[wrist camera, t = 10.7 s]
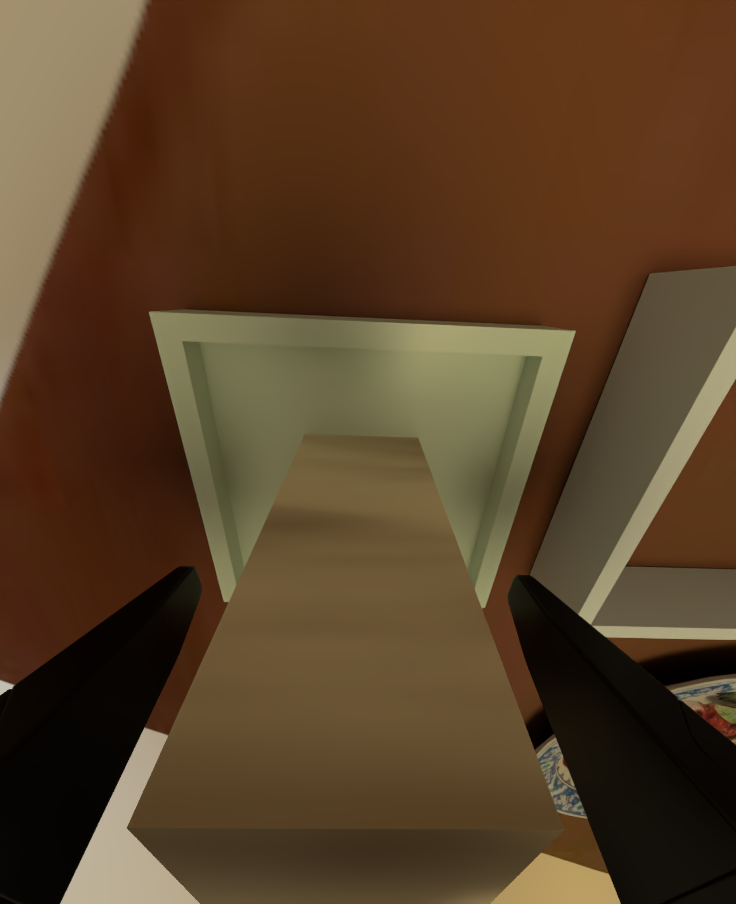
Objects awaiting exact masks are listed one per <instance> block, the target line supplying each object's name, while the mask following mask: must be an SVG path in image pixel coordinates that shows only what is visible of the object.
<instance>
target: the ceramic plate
mask: <svg viewBox="0 0 736 904" xmlns="http://www.w3.org/2000/svg"><path fill="white" fill-rule="evenodd" d="M665 687H666V688H667V689H669V690H670V691H671V692H672V693H673V694H675V695H676V696H677V698H678V700H682V701H683V702H684V703H686V704H687V705H688V706H689V707H690V708H692V709H693V710H694V711H695V712H696V713H698V714H699V715H700V716H701V717H702V718H704V719H705V720H706V721H707V722H709V723H710V724H711V725H712V726H714V727H715V728H716V729H717V730H718V731H720V732H721V733H722V734H723V735H725V736H726V737H727V738H728V739H730V740H731V741H732V742H733V743H734V744H736V674H728V675H720V676H711V677H705V678H700V679H696V680H691V681H686V682H682V683H676V684H671V685H665ZM535 753H536V755H537V758H538V761H539V763H540V766H541V769H542V772H543V774H544V777H545V780H546V782H547V785H548V788H549V790H550V793H551V796H552V798H553V801H554V804H555V806H556V809H557V812H559V813H562V814H566V815H570V816H576V817H581V818H587V816H586V814H585V811H584V809H583V806H582V803H581V801H580V798H579V796H578V793H577V791H576V788H575V786H574V783H573V781H572V778H571V775H570V773H569V770H568V768H567V765H566V763H565V760H564V758H563V755H562V753H561V750H560V748H559V745H558V742H557V740H556V737H555V735H554V734H553V735H552V736H551V737H549V738H548V739H547V740H546V741H545V742H543V743H542V744H541V745H540V746H539V747H537V748H536V749H535Z"/></svg>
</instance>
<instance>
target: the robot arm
mask: <svg viewBox="0 0 736 904" xmlns="http://www.w3.org/2000/svg"><path fill="white" fill-rule="evenodd" d="M201 593H202V585H201V581H200V578H199V575H198V571H197V569H196V568H195V567H193V566H181V567H178V568H176V569H175V570H173V571H172V572H171V573H169V574H168V575H166V576H165V577H164V578H162V579H161V580H160V581H158V582H157V583H155V584H154V585H153V586H151V587H150V588H148V589H147V590H146V591H144V592H143V593H142V594H140V595H139V596H137V597H136V598H135V599H133V600H132V601H130V602H129V603H128V604H126V605H125V606H124V607H122V608H121V609H119V610H118V611H117V612H115V613H114V614H113V615H111V616H110V617H108V618H107V619H106V620H104V621H103V622H101V623H100V624H99V625H97V626H96V627H95V628H93V629H92V630H90V631H89V632H88V633H86V634H85V635H83V636H82V637H81V638H79V639H78V640H77V641H75V642H74V643H72V644H71V645H70V646H68V647H67V648H65V649H64V650H63V651H61V652H60V653H59V654H57V655H56V656H54V657H53V658H52V659H50V660H49V661H47V662H46V663H45V664H43V665H42V666H41V667H39V668H38V669H36V670H35V671H34V672H32V673H31V674H29V675H28V676H27V677H25V678H24V679H23V680H21V681H20V682H18V683H17V684H16V685H14V686H13V688H12V689H9V690H7V691H6V692H4V693H3V694H2V695H0V904H60V903H61V900H62V899H63V896H64V894H65V892H66V890H67V888H68V886H69V884H70V882H71V880H72V878H73V876H74V873H75V871H76V869H77V867H78V865H79V863H80V861H81V859H82V857H83V855H84V853H85V850H86V848H87V846H88V844H89V842H90V840H91V838H92V836H93V834H94V832H95V829H96V827H97V825H98V823H99V821H100V819H101V817H102V815H103V813H104V811H105V809H106V806H107V804H108V802H109V800H110V798H111V796H112V794H113V792H114V789H115V788H116V786H117V784H118V781H119V779H120V777H121V775H122V773H123V771H124V769H125V767H126V765H127V762H128V760H129V758H130V756H131V754H132V752H133V750H134V748H135V746H136V744H137V742H138V740H139V737H140V735H141V733H142V731H143V729H144V727H145V725H146V723H147V721H148V719H149V717H150V714H151V712H152V710H153V708H154V706H155V704H156V702H157V700H158V698H159V696H160V694H161V691H162V689H163V687H164V685H165V683H166V681H167V679H168V677H169V675H170V673H171V671H172V668H173V666H174V664H175V662H176V660H177V658H178V655H179V653H180V651H181V648H182V646H183V643H184V640H185V638H186V635H187V632H188V629H189V627H190V624H191V621H192V619H193V616H194V613H195V610H196V608H197V605H198V602H199V600H200V597H201ZM508 602H509V606H510V610H511V613H512V617H513V620H514V623H515V627H516V630H517V634H518V637H519V641H520V644H521V648H522V651H523V654H524V657H525V661H526V663H527V666H528V669H529V671H530V674H531V676H532V679H533V681H534V684H535V687H536V689H537V692H538V694H539V697H540V699H541V702H542V704H543V707H544V709H545V712H546V714H547V717H548V720H549V722H550V725H551V727H552V730H553V732H554V735H555V737H556V740H557V742H558V745H559V748H560V750H561V753H562V755H563V758H564V760H565V763H566V765H567V768H568V770H569V773H570V775H571V778H572V781H573V783H574V786H575V788H576V791H577V793H578V796H579V798H580V801H581V803H582V806H583V809H584V811H585V814H586V816H587V819H588V821H589V824H590V826H591V829H592V831H593V834H594V836H595V839H596V842H597V844H598V847H599V849H600V852H601V854H602V857H603V859H604V862H605V864H606V867H607V870H608V872H609V875H610V877H611V880H612V882H613V885H614V887H615V890H616V892H617V895H618V898H619V900H620V903H621V904H736V744H734V743H733V742H732V741H731V740H730V739H728V738H727V737H726V736H725V735H723V734H722V733H721V732H720V731H718V730H717V729H716V728H715V727H714V726H712V725H711V724H710V723H709V722H707V721H706V720H705V719H704V718H702V717H701V716H700V715H699V714H698V713H696V712H695V711H694V710H693V709H692V708H690V707H689V706H688V705H687V704H686V703H684V702H683V701H682V700H678V698H677V696H676V695H675V694H673V693H672V692H671V691H670V690H669V689H667V688H666V687H665V686H664V685H663V684H661V683H660V682H659V681H658V680H657V679H655V678H654V677H653V676H652V675H651V674H649V673H648V672H647V671H646V670H645V669H643V668H642V667H641V666H640V665H639V664H637V663H636V662H635V661H634V660H633V659H631V658H630V657H629V656H628V655H626V654H625V653H624V652H623V651H622V650H620V649H619V648H618V647H617V646H616V645H614V644H613V643H612V642H611V641H610V640H608V639H607V638H606V637H605V636H604V635H602V634H601V633H600V632H599V631H598V630H596V629H595V628H594V627H593V626H592V625H590V624H589V623H588V622H587V621H586V620H584V619H583V618H582V617H581V616H580V615H578V614H577V613H576V612H575V611H574V610H572V609H571V608H570V607H569V606H568V605H566V604H565V603H564V602H563V601H562V600H560V599H559V598H558V597H557V596H556V595H554V594H553V593H552V592H551V591H550V590H548V589H547V588H546V587H545V586H544V585H542V584H541V583H540V582H539V581H538V580H536V579H535V578H534V577H532V576H530V575H516V576H515V577H514V579H513V582H512V585H511V587H510V590H509V593H508Z"/></svg>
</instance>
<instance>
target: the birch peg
mask: <svg viewBox="0 0 736 904" xmlns="http://www.w3.org/2000/svg"><path fill="white" fill-rule="evenodd" d="M127 829H128V830H129V831H130V832H131V833H132V834H133V835H134V836H135V837H136V838H137V839H138V840H139V841H140V842H141V843H142V844H143V845H144V846H145V847H146V848H147V849H148V850H149V851H150V852H151V853H152V854H153V856H154V857H155V858H157V860H159V862H160V863H161V864H162V865H163V866H164V867H165V868H166V869H167V870H168V871H169V872H170V873H171V874H172V875H173V876H174V877H175V878H176V879H177V880H178V881H179V882H180V883H181V884H182V885H183V886H184V887H185V888H186V890H187V891H188V892H189V893H190V894H191V895H192V896H193V897H195V899H196V900H197V901H198V902H199V903H200V904H490V903H491V902H492V901H493V900H494V899H495V898H496V897H497V896H498V895H499V894H500V893H501V892H502V891H503V890H504V889H505V888H506V887H507V886H508V885H509V884H510V883H511V882H512V881H513V880H514V879H515V878H516V877H517V876H518V875H519V874H520V873H521V872H522V871H523V870H524V869H525V868H526V867H527V866H528V865H529V864H530V863H531V862H532V861H533V860H534V859H535V858H536V857H537V856H538V855H539V854H540V853H541V852H542V851H543V850H544V849H545V848H546V847H547V846H548V845H549V844H550V843H551V842H552V841H553V840H554V839H555V838H556V837H557V836H558V835H559V834H560V833H561V832H562V831H563V830H564V828H563V825H562V823H561V820H560V817H559V815H558V812H557V809H556V806H555V804H554V801H553V798H552V796H551V793H550V790H549V788H548V785H547V782H546V780H545V777H544V774H543V772H542V769H541V766H540V763H539V761H538V758H537V755H536V753H535V750H534V747H533V745H532V742H531V739H530V737H529V734H528V731H527V729H526V726H525V723H524V721H523V718H522V715H521V712H520V710H519V707H518V704H517V702H516V699H515V696H514V694H513V691H512V688H511V686H510V683H509V680H508V678H507V675H506V672H505V670H504V667H503V664H502V661H501V659H500V656H499V653H498V651H497V648H496V645H495V643H494V640H493V637H492V635H491V632H490V629H489V627H488V624H487V621H486V618H485V616H484V613H483V610H482V608H481V605H480V602H479V600H478V597H477V594H476V592H475V589H474V586H473V584H472V581H471V578H470V576H469V573H468V570H467V567H466V565H465V562H464V559H463V557H462V554H461V551H460V549H459V546H458V543H457V541H456V538H455V535H454V533H453V530H452V527H451V525H450V522H449V519H448V516H447V514H446V511H445V508H444V506H443V503H442V500H441V498H440V495H439V492H438V490H437V487H436V484H435V482H434V479H433V476H432V474H431V471H430V468H429V465H428V463H427V460H426V457H425V455H424V452H423V449H422V447H421V444H420V441H419V439H418V438H416V437H385V436H354V435H324V434H304V437H303V439H302V441H301V443H300V446H299V448H298V450H297V452H296V454H295V457H294V459H293V461H292V463H291V465H290V468H289V470H288V472H287V474H286V477H285V479H284V481H283V483H282V485H281V488H280V490H279V492H278V494H277V496H276V499H275V501H274V503H273V505H272V508H271V510H270V512H269V514H268V516H267V519H266V521H265V523H264V525H263V527H262V530H261V532H260V534H259V536H258V539H257V541H256V543H255V545H254V547H253V550H252V552H251V554H250V556H249V558H248V561H247V563H246V565H245V567H244V570H243V572H242V574H241V576H240V578H239V581H238V583H237V585H236V587H235V589H234V592H233V594H232V596H231V598H230V601H229V603H228V605H227V607H226V609H225V612H224V614H223V616H222V618H221V620H220V623H219V625H218V627H217V629H216V632H215V634H214V636H213V638H212V640H211V643H210V645H209V647H208V649H207V651H206V654H205V656H204V658H203V660H202V663H201V665H200V667H199V669H198V671H197V674H196V676H195V678H194V680H193V682H192V685H191V687H190V689H189V691H188V694H187V696H186V698H185V700H184V702H183V705H182V707H181V709H180V711H179V713H178V716H177V718H176V720H175V722H174V725H173V727H172V729H171V731H170V733H169V736H168V738H167V740H166V742H165V745H164V747H163V749H162V751H161V753H160V756H159V758H158V760H157V762H156V764H155V767H154V769H153V771H152V773H151V776H150V778H149V780H148V782H147V785H146V787H145V789H144V791H143V793H142V795H141V798H140V800H139V802H138V804H137V807H136V809H135V811H134V813H133V816H132V818H131V820H130V822H129V824H128V827H127Z"/></svg>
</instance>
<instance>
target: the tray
mask: <svg viewBox="0 0 736 904" xmlns="http://www.w3.org/2000/svg"><path fill="white" fill-rule="evenodd" d="M149 315H150V318H151V322H152V326H153V330H154V334H155V338H156V342H157V346H158V349H159V353H160V357H161V361H162V365H163V369H164V373H165V376H166V380H167V384H168V388H169V392H170V396H171V400H172V404H173V407H174V411H175V415H176V419H177V423H178V427H179V431H180V434H181V438H182V442H183V446H184V450H185V454H186V458H187V462H188V465H189V469H190V473H191V477H192V481H193V485H194V489H195V492H196V496H197V500H198V504H199V508H200V512H201V516H202V520H203V523H204V527H205V531H206V535H207V539H208V543H209V547H210V550H211V554H212V558H213V562H214V566H215V570H216V574H217V578H218V581H219V585H220V589H221V593H222V597H223V601H224V602H229V601H230V598H231V596H232V594H233V592H234V589H235V587H236V585H237V583H238V581H239V578H240V576H241V574H242V572H243V570H244V567H245V565H246V563H247V561H248V558H249V556H250V554H251V552H252V550H253V547H254V545H255V543H256V541H257V539H258V536H259V534H260V532H261V530H262V527H263V525H264V523H265V521H266V519H267V516H268V514H269V512H270V510H271V508H272V505H273V503H274V501H275V499H276V496H277V494H278V492H279V490H280V488H281V485H282V483H283V481H284V479H285V477H286V474H287V472H288V470H289V468H290V465H291V463H292V461H293V459H294V457H295V454H296V452H297V450H298V448H299V446H300V443H301V441H302V439H303V437H304V434H324V435H354V436H385V437H416V438H418V439H419V441H420V444H421V447H422V449H423V452H424V455H425V457H426V460H427V463H428V465H429V468H430V471H431V474H432V476H433V479H434V482H435V484H436V487H437V490H438V492H439V495H440V498H441V500H442V503H443V506H444V508H445V511H446V514H447V516H448V519H449V522H450V525H451V527H452V530H453V533H454V535H455V538H456V541H457V543H458V546H459V549H460V551H461V554H462V557H463V559H464V562H465V565H466V567H467V570H468V573H469V576H470V578H471V581H472V584H473V586H474V589H475V592H476V594H477V597H478V600H479V602H480V605H481V608H485V606H486V603H487V600H488V597H489V594H490V591H491V588H492V585H493V582H494V579H495V576H496V573H497V570H498V567H499V563H500V560H501V557H502V554H503V551H504V548H505V545H506V542H507V539H508V536H509V533H510V530H511V527H512V524H513V521H514V518H515V515H516V512H517V509H518V506H519V503H520V500H521V496H522V493H523V490H524V487H525V484H526V481H527V478H528V475H529V472H530V469H531V466H532V463H533V460H534V457H535V454H536V451H537V448H538V445H539V442H540V439H541V436H542V432H543V429H544V426H545V423H546V420H547V417H548V414H549V411H550V408H551V405H552V402H553V399H554V396H555V393H556V390H557V387H558V384H559V381H560V378H561V375H562V372H563V369H564V365H565V362H566V359H567V356H568V353H569V350H570V347H571V344H572V341H573V338H574V335H575V332H576V331H572V330H566V329H560V328H553V327H547V326H537V325H515V324H493V323H471V322H449V321H427V320H405V319H383V318H362V317H340V316H318V315H296V314H274V313H252V312H230V311H208V310H186V309H183V310H167V311H151V312H149Z"/></svg>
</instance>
